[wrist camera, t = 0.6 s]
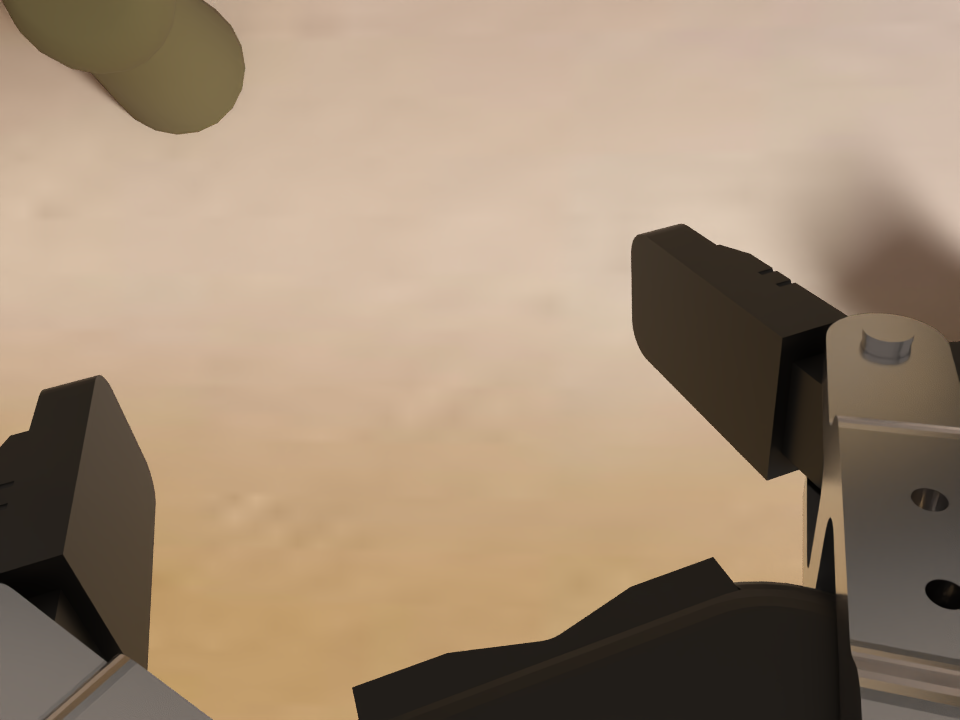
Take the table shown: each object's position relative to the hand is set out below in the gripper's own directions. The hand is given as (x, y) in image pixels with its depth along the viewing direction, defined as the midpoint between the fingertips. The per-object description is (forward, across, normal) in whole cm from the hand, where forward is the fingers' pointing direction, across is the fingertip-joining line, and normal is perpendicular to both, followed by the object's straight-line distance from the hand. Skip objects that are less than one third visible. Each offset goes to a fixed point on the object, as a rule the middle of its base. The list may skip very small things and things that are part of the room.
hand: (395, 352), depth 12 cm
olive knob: (+29, +4, 0) cm, 29 cm away
